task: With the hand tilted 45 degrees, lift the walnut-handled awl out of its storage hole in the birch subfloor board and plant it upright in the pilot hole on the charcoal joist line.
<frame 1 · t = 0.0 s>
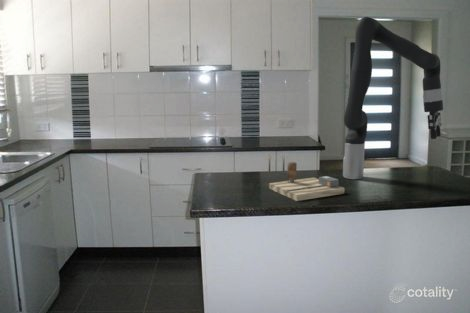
hand: (435, 137, 185), 22 cm above the countertop, tool pointing down, fingers open, 8 cm apart
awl: (291, 187, 191), resting in board
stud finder: (328, 185, 184), resting on board
board: (305, 191, 185), on the countertop
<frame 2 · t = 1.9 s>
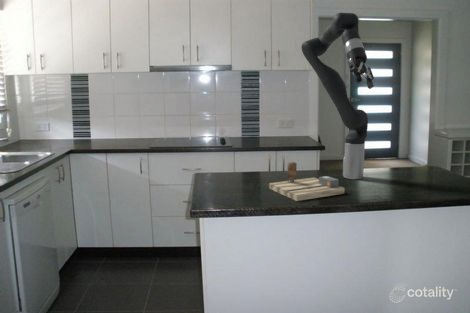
hand: (365, 84, 171), 45 cm above the countertop, tool tilted 35°, fingers open, 8 cm apart
nothing on the countertop moved.
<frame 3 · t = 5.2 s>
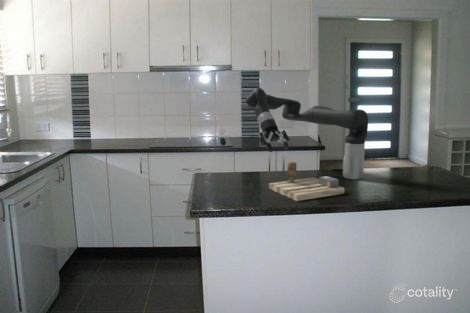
hand: (279, 150, 197), 15 cm above the countertop, tool tilted 45°, fingers open, 8 cm apart
nothing on the countertop moved.
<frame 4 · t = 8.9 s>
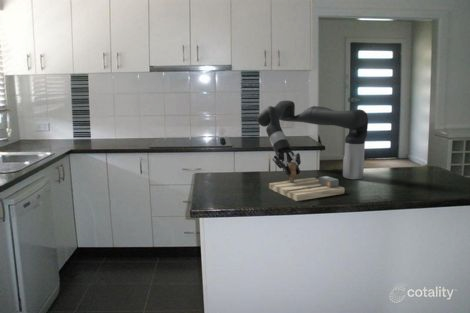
hand: (294, 174, 188), 7 cm above the countertop, tool tilted 45°, fingers closed on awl, 4 cm apart
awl: (291, 187, 191), resting in board, touching gripper
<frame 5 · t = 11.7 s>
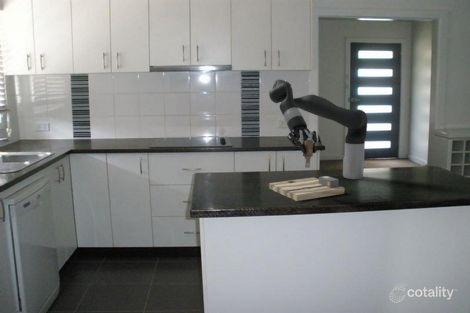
hand: (310, 152, 175), 18 cm above the countertop, tool tilted 45°, fingers closed on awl, 4 cm apart
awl: (307, 167, 178), point 11 cm above the countertop, touching gripper
when the fingers open (7 cm above the countertop, at t = 14.8 s): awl stays where it is, resting in board.
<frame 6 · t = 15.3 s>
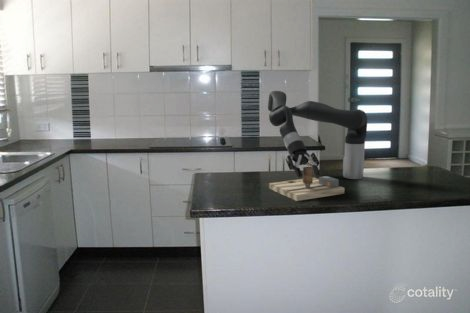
hand: (309, 175, 177), 8 cm above the countertop, tool tilted 45°, fingers open, 8 cm apart
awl: (307, 193, 180), resting in board
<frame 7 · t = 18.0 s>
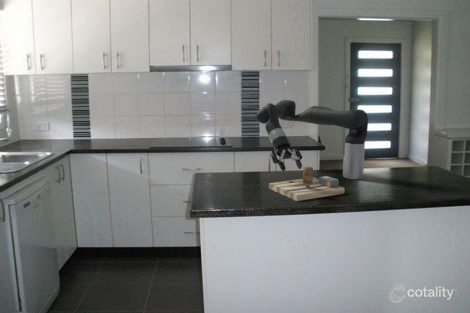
hand: (292, 168, 189), 9 cm above the countertop, tool tilted 45°, fingers open, 8 cm apart
nothing on the countertop moved.
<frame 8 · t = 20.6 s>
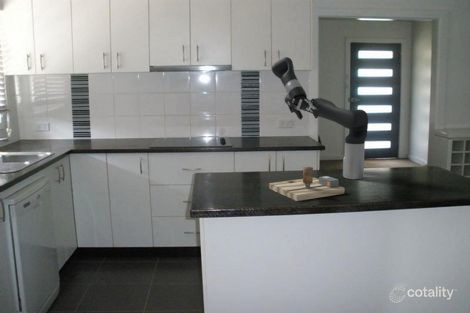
hand: (309, 117, 191), 31 cm above the countertop, tool tilted 45°, fingers open, 8 cm apart
nothing on the countertop moved.
at the end: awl 0.2 cm from the target spot on the board, point 0.0 cm above the board's base; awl tilted 0°; the gripper is holding nothing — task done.
